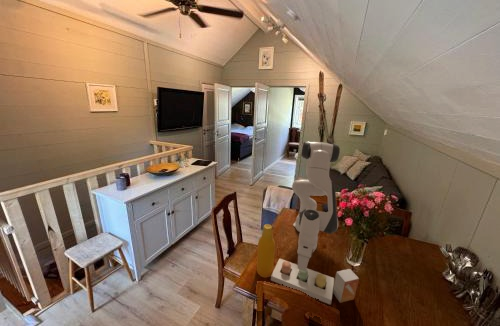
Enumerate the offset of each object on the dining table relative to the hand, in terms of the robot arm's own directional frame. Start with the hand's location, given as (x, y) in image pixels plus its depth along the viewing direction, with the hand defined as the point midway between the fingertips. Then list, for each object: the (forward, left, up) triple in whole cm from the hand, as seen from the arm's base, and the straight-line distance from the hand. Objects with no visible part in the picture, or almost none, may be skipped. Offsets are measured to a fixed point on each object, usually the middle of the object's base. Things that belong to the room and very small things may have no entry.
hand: (304, 265), depth 107 cm
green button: (0, 0, -8) cm, 9 cm away
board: (0, 0, -11) cm, 11 cm away
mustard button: (0, +9, -9) cm, 12 cm away
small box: (-1, +20, -11) cm, 23 cm away
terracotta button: (0, -9, -9) cm, 13 cm away
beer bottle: (+3, -20, -11) cm, 23 cm away
